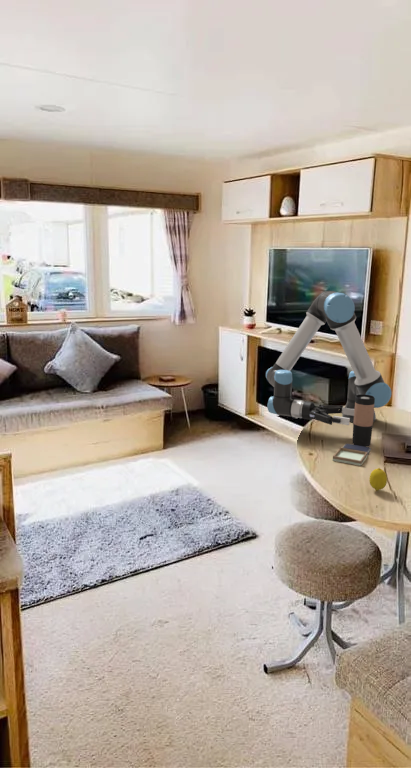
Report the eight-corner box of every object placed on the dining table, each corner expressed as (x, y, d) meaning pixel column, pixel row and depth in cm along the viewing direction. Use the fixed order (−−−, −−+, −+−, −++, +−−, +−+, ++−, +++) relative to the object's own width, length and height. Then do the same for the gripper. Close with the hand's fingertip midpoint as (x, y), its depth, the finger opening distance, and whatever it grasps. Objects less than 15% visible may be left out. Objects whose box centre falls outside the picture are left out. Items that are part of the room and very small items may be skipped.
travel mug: (347, 443, 229) (351, 396, 224) (358, 439, 233) (362, 393, 229) (363, 448, 223) (367, 400, 218) (374, 444, 228) (379, 397, 223)
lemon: (366, 491, 184) (368, 468, 182) (371, 485, 188) (373, 463, 186) (383, 495, 181) (385, 472, 179) (387, 489, 185) (390, 467, 183)
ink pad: (345, 446, 225) (345, 442, 225) (370, 450, 221) (370, 447, 221) (340, 451, 219) (340, 448, 219) (366, 456, 214) (366, 453, 214)
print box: (339, 451, 219) (340, 447, 219) (367, 456, 214) (367, 452, 214) (332, 460, 210) (332, 455, 210) (360, 465, 205) (361, 461, 205)
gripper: (312, 410, 248) (360, 418, 238) (293, 426, 227) (344, 434, 217) (313, 394, 246) (361, 401, 236) (293, 408, 225) (346, 416, 215)
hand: (353, 417), depth 227 cm, fingers open, 13 cm apart
